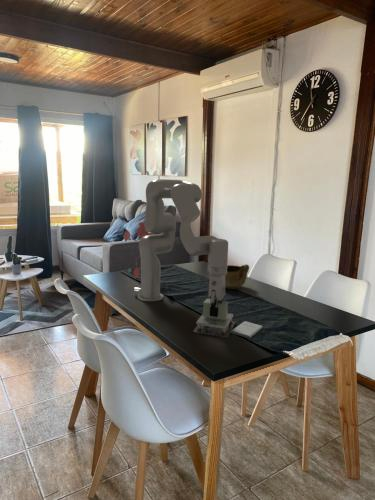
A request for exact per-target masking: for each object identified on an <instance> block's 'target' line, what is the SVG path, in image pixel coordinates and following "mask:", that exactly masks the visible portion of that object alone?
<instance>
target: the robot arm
mask: <svg viewBox="0 0 375 500" xmlns="http://www.w3.org/2000/svg"><path fill="white" fill-rule="evenodd" d="M202 196H203V192H202V189H201V187H200V186H199V185H198V184H196V183H193V182H190V181H186V180H181V179H165V178H163V179H153V180H150V182H148V184H146V187H145V201H146V207H145V213H144V214H145V215H144V220H145V222H144V221H143V223H144V227H145V230H146V231H147V232H148V233H153V234H154V233H155V234H154V235H146V236H144V237H142V238H141V237H140V238H141V239H140V238H139V239H140V240H138V249H139V253H140V254H139V256H140V287H134V288H133V292H134V293H135V294H137V299H138V300H140V301H142V302H151V303H152V302H158V301H161V300H164V299H163V298H164V294H163V293H161V262H160V261H161V260H160V259H159V257H158V256H157V255H158V254H159V255H160V254H164V253H165V254H166V253H169V252H171V251H172V250H173V247H174V244H175V243H174V242H175V238H176V237H175V235H176V230H177V229H176V227H177V221H176V217H175V215H174V214H172V213H171V212H164V211H165V203H164V200H163V199H171V200H172V202H173V204H174V206H175V209H176V210H177V213H178V215H179V217H180V219H181V222H180V225H179V238H180V241H181V243H182V245H183V247H184V249H185V251H186V253H188V254H189V255H190V256H192V257H198V256H204V255H208V258H207V261H208V262H207V264H208V265H207V275H209V280H208V281H209V283H208V299H211V300H210V316H213V317H217V316H218V307H217V306H218V300H219V301H220V300H223V298H224V297H225V295H226V288H225V275H227V265H228V262H229V261H228V259H229V258H228V257H229V241H228V240H227V239H225V238H217V237H216V236H214V235H202V236H195V234H194V233H193V230H192V227H191V224H192V223H193V222H194V221H196V220H197V219H198V218H199V217H200V216H201V210H200V208H199V206H198V205H197V203H199V202H200V201H201V200H202ZM214 301H216V303H215V302H214Z"/></svg>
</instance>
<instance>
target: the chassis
mask: <svg viewBox="0 0 375 500" xmlns="http://www.w3.org/2000/svg"><path fill="white" fill-rule="evenodd" d="M233 318H234V313H229V312H228V314H227V317H226V319H225V320H223V319H216V318H209V317H203V313H202V315H200V317H199V318H198V319H197V321H196V322H195V323H196V326H195V328H194V329H193V331H192V332H193V333H195V334H203V335H209V336H215V337H220V338H221V337H222V338H226V339H227V338H229V337H230V334H232V333H231V330H233V329H234V328H235V325H236V321H233Z"/></svg>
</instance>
